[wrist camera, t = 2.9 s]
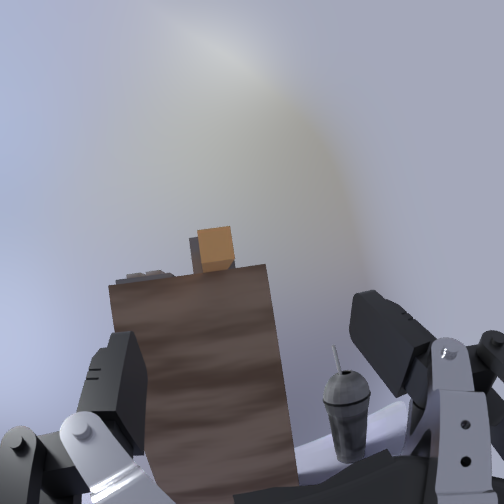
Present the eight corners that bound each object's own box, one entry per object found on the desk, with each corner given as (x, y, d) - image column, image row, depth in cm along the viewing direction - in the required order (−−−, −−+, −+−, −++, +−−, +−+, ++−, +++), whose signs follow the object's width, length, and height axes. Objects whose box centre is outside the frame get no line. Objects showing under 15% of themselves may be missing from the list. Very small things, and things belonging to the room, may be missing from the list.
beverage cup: (380, 458, 34) (374, 340, 36) (336, 473, 33) (325, 353, 36) (362, 440, 41) (353, 334, 44) (323, 452, 40) (310, 344, 43)
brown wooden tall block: (302, 511, 26) (263, 253, 30) (177, 530, 23) (107, 274, 27) (284, 475, 35) (249, 264, 40) (181, 491, 33) (131, 280, 37)
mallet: (248, 256, 22) (240, 203, 22) (187, 265, 21) (181, 210, 21) (231, 274, 37) (226, 242, 38) (196, 279, 36) (192, 247, 37)
